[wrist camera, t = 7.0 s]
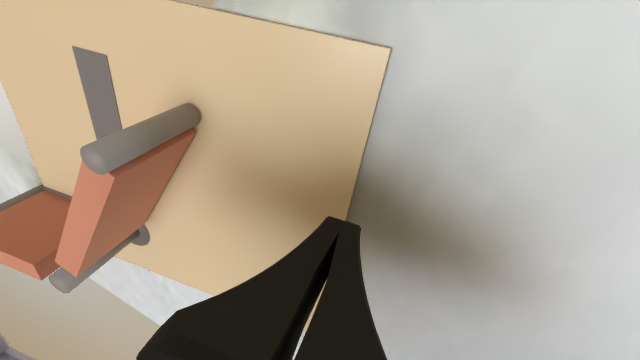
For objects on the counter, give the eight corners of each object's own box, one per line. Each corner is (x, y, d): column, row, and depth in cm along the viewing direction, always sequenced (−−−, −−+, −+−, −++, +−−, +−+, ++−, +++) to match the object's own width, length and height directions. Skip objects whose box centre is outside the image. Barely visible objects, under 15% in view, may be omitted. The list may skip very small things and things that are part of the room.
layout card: (391, 48, 10) (390, 49, 10) (315, 331, 19) (314, 336, 19) (-43, -48, 13) (-54, -49, 13) (68, 233, 22) (63, 236, 22)
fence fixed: (142, 221, 19) (63, 282, 15) (145, 235, 19) (70, 298, 15) (36, 182, 20) (-63, 228, 16) (42, 197, 21) (-52, 244, 17)
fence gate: (181, 96, 13) (80, 136, 9) (204, 116, 13) (113, 163, 9) (127, 210, 18) (48, 266, 14) (144, 223, 18) (70, 282, 14)
